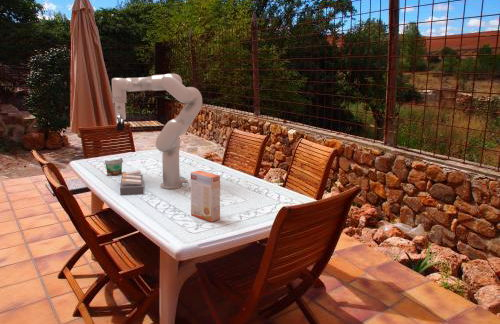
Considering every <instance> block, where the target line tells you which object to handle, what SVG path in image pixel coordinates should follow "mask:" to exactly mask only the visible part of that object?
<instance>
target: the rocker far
mask: <svg viewBox="0 0 500 324" xmlns="http://www.w3.org/2000/svg"><path fill="white" fill-rule="evenodd" d="M140 174H142V172H141V170H140V169H139V170H134V171H128V172H123V173H122V175H140Z"/></svg>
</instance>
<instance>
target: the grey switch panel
mask: <svg viewBox="0 0 500 324" xmlns="http://www.w3.org/2000/svg"><path fill="white" fill-rule="evenodd" d="M143 175H144V174H142V173H141V174H138V175H133V176H141V184H129V183H122V179H123V174H121V180H120V185H119V193H120V195H119V196H132V195H144V194H145V193H144V177H143Z"/></svg>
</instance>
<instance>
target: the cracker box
mask: <svg viewBox="0 0 500 324" xmlns="http://www.w3.org/2000/svg"><path fill="white" fill-rule="evenodd" d="M190 215H191V216H192V217H193V216H194V217H197V218H199V219H201V220H205V221H207V222H210V223H212V222H216V221H218V220H220V219H221V175H219V174H216V173H212V172H207V171H203V170H195V171H191V172H190Z"/></svg>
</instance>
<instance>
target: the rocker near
mask: <svg viewBox="0 0 500 324" xmlns="http://www.w3.org/2000/svg"><path fill="white" fill-rule="evenodd" d="M122 183H129V184H141V180H133V179H122Z"/></svg>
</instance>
